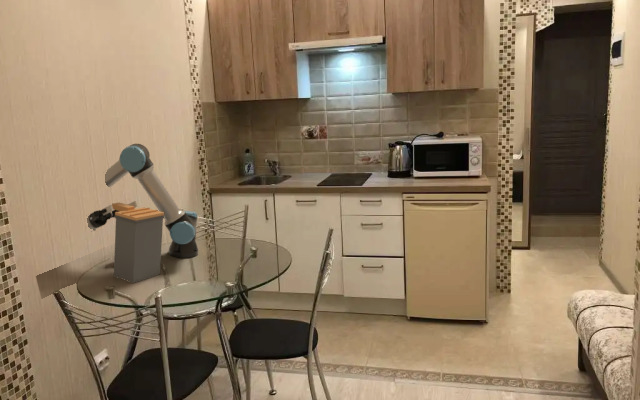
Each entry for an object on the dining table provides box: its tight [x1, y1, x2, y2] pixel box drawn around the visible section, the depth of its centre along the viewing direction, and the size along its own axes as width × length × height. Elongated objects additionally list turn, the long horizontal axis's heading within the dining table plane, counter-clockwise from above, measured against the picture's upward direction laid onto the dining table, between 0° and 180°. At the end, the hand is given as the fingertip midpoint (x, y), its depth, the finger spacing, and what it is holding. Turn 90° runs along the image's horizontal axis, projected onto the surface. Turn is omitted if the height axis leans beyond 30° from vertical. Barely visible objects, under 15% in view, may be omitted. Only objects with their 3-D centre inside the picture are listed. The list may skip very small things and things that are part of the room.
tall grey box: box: [113, 215, 164, 284], centre depth 230 cm, size 13×17×28 cm
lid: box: [111, 202, 164, 221], centre depth 229 cm, size 22×17×2 cm
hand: (124, 205), depth 231 cm, fingers open, 13 cm apart
